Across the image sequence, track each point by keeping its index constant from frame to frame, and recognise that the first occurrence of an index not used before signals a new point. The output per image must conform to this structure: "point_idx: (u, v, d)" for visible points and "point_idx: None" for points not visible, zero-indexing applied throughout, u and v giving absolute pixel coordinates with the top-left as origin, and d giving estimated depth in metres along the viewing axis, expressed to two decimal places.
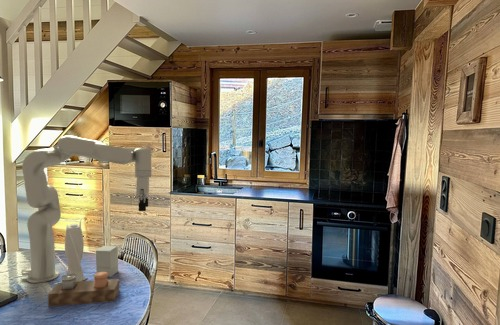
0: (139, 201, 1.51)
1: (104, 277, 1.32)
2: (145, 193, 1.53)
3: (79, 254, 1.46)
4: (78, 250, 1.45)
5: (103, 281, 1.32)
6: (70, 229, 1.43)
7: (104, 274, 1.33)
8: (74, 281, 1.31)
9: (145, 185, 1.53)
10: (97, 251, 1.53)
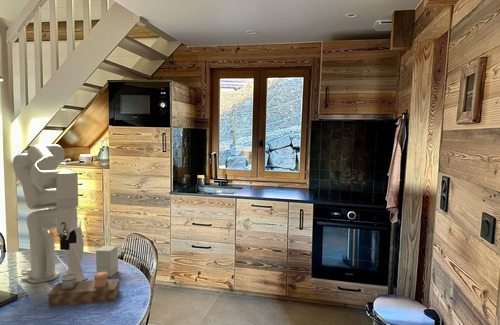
0: (60, 239, 1.24)
1: (104, 277, 1.32)
2: (67, 227, 1.25)
3: (79, 254, 1.46)
4: (78, 250, 1.45)
5: (103, 281, 1.32)
6: None
7: (104, 274, 1.33)
8: (74, 281, 1.31)
9: (67, 218, 1.25)
10: (97, 251, 1.53)
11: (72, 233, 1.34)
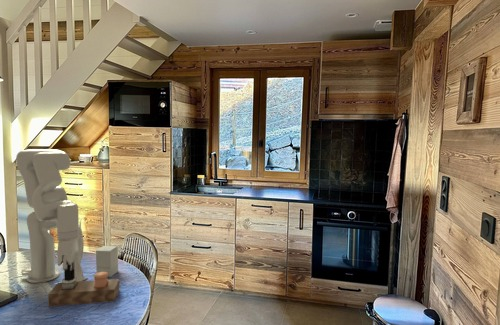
0: (64, 270, 1.29)
1: (104, 277, 1.32)
2: (68, 260, 1.26)
3: (79, 254, 1.46)
4: (78, 250, 1.45)
5: (103, 281, 1.32)
6: None
7: (104, 274, 1.33)
8: (74, 284, 1.31)
9: (68, 250, 1.26)
10: (97, 251, 1.53)
11: None
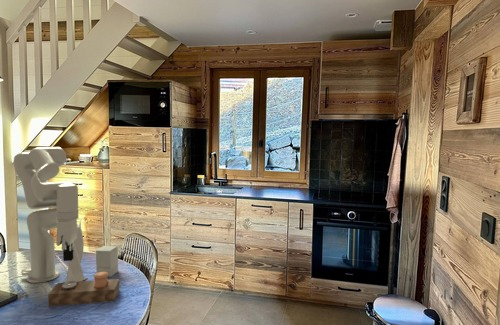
0: (63, 251, 1.28)
1: (104, 277, 1.32)
2: (67, 240, 1.25)
3: (79, 254, 1.46)
4: (78, 250, 1.45)
5: (103, 281, 1.32)
6: None
7: (104, 274, 1.33)
8: None
9: (67, 231, 1.25)
10: (97, 251, 1.53)
11: None
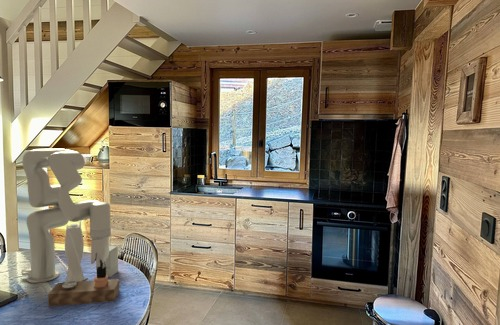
0: (97, 268, 1.31)
1: (104, 280, 1.32)
2: (101, 258, 1.28)
3: (79, 254, 1.46)
4: (78, 250, 1.45)
5: (103, 284, 1.32)
6: (70, 229, 1.43)
7: None
8: None
9: (101, 249, 1.28)
10: None
11: None
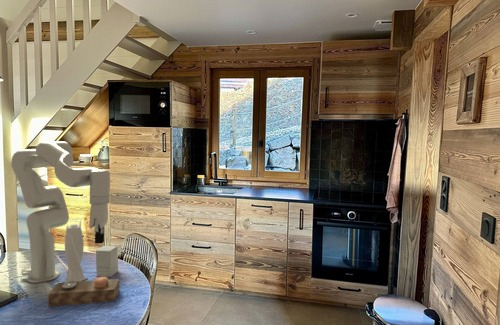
0: (95, 233, 1.34)
1: (104, 282, 1.32)
2: (100, 223, 1.31)
3: (79, 254, 1.46)
4: (78, 250, 1.45)
5: (103, 286, 1.32)
6: (70, 229, 1.43)
7: (104, 279, 1.33)
8: None
9: (100, 214, 1.31)
10: (97, 251, 1.53)
11: None
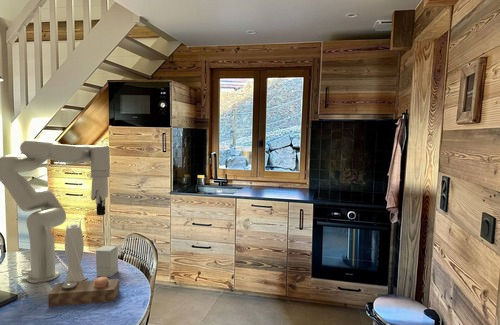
0: (97, 206, 1.43)
1: (104, 282, 1.32)
2: (101, 195, 1.40)
3: (79, 254, 1.46)
4: (78, 250, 1.45)
5: (103, 286, 1.32)
6: (70, 229, 1.43)
7: (104, 279, 1.33)
8: None
9: (101, 187, 1.40)
10: (97, 251, 1.53)
11: None
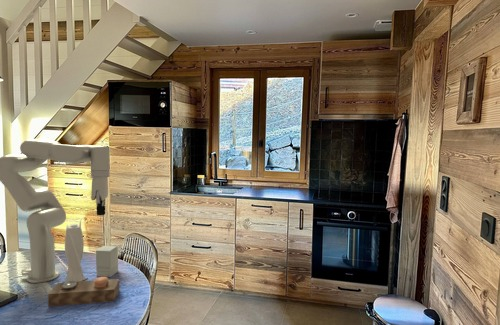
0: (97, 206, 1.43)
1: (104, 282, 1.32)
2: (101, 195, 1.40)
3: (79, 254, 1.46)
4: (78, 250, 1.45)
5: (103, 286, 1.32)
6: (70, 229, 1.43)
7: (104, 279, 1.33)
8: None
9: (101, 187, 1.40)
10: (97, 251, 1.53)
11: None
